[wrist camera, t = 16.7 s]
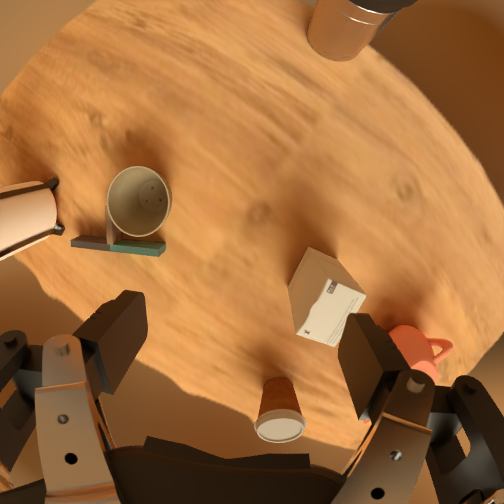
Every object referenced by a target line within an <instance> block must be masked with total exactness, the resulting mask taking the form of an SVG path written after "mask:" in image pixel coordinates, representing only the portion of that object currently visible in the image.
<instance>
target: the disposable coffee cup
mask: <svg viewBox="0 0 504 504" xmlns="http://www.w3.org/2000/svg"><path fill="white" fill-rule="evenodd" d="M305 427H306V420H305V418H304V417H303V416H302V414H301V411H300V407H299V404H298V400H297V397H296V394H295V390H294V387H293V384H292V383H291V382H290V381H289V380H287V379H283V378H275V379H272V380H269V381H268V382H267V383H266V384H265V385H264V389H263V394H262V399H261V404H260V410H259V415H258V419H257V420H256V422H255V430H256V432H257V434H258V435H259V437H260V438H262V439H263V440H265V441H269V442H274V443H282V442H288V441H292V440H294V439H296V438H298V437H299V436H301V435H302V433H303V432H304V428H305Z"/></svg>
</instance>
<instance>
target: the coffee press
mask: <svg viewBox="0 0 504 504" xmlns="http://www.w3.org/2000/svg"><path fill="white" fill-rule="evenodd" d="M58 184H59V181H58V180H57V179H56V178H55V177H54V178H52V179H51V180H50V181H48V182H47V183H45V184H44V183H42V182H40V181H31V182H25V183H20V184H14V185H9V186H4V187H0V261H1V260H3V259H5V258H7V257H9V256H11V255H13V254H15V253H17V252H19V251H21V250H23V249H25V248H27V247H30V246H32V245H34V244H36V243H38V242H40V241H42V240H44V239H46V238H47V237H49V236H50V235H51V234H55V235H60V236H61V235H62V234H63V232H64V230H65V228H64V227H63V226H62V225H59V224H56V217H57V209H56V202H55V199H54V196H53V194H52V191H53V190H54V189H55V188H56V187H57V186H58Z"/></svg>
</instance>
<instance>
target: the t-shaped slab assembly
mask: <svg viewBox="0 0 504 504" xmlns="http://www.w3.org/2000/svg"><path fill="white" fill-rule="evenodd" d="M106 236H107V238H104V237H94V236H83V235H81V236H79V237H76V238H74V239H72V240H71V247H78V248H86V249H94V250H103V251H112V252H120V253H129V254H138V255H147V256H157V257H159V256H160V255H161V254H162V253H163V252H164V251H165V250H166V243H158V242H147V241H137V240H126V239H122V231H121V230H120V229H118V228H117V227H116V225H115V224H114V223H113V221H112V220H111V218H110V215H109V213H108V209H107V205H106Z"/></svg>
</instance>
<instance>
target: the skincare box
mask: <svg viewBox="0 0 504 504" xmlns="http://www.w3.org/2000/svg"><path fill="white" fill-rule="evenodd" d="M287 288H288V293H289V298H290V303H291V309H292V314H293V320H294V325H295V331H296V334H297V335H300V336H303V337H305V338H308V339H311V340H315V341H318V342H321V343H324V344H327V345H329V346H332V347H335V346H336V344H337V343H338V341H339V340H340V338H341V337H342V333H343V330H344V327H345V323H346V319H347V317H348V315H349V314H350V313H357V311H358V310H359V308H360V306H361V305H362V303H363V301H364V300H365V298H366V296H367V295H366V294H365V292H364V291H363V290H362V289H361V287H360V286H359V285H358V283H357V282H356V281H355V280H354V279H353V278H352V276H351V275H350V274H349V273H348V271H347V270H346V269H345V268H344V267H343V265H342V264H341V263H340V262H339V261H338V260H337V259H335V258H333V257H331V256H328V255H326V254H324V253H322V252H320V251H318V250H315V249H313V248H311V247H308V248H307V250H306V252H305V254H304V256H303V258H302V260H301V262H300V263H299V265H298V267H297V269H296V271H295V273H294V275H293V278H292V280H291V282H290V284H289V285H288V287H287Z"/></svg>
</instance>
